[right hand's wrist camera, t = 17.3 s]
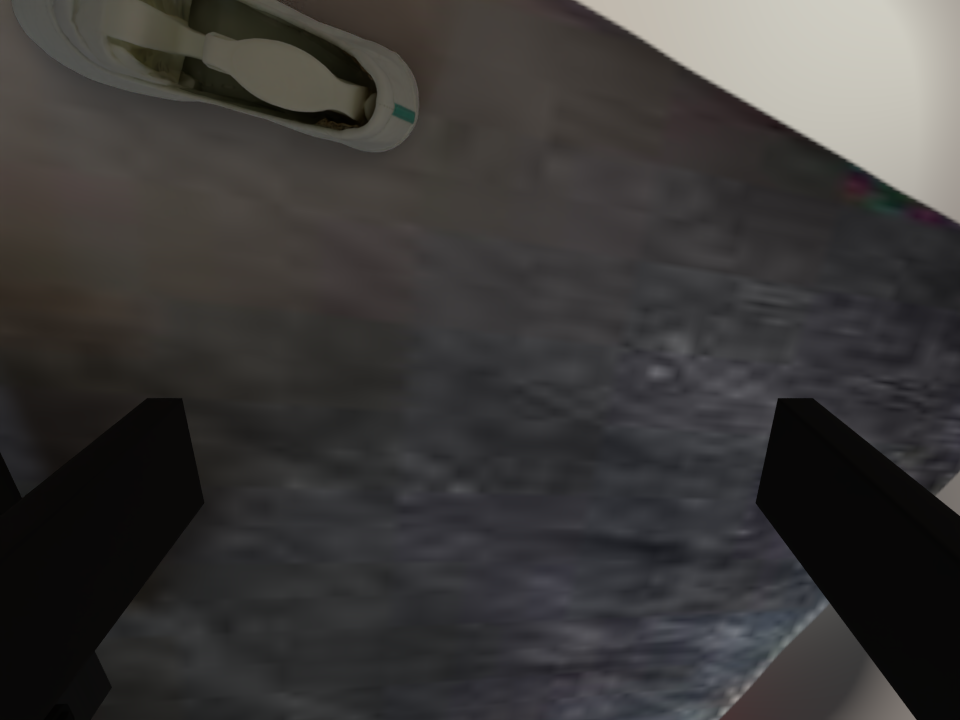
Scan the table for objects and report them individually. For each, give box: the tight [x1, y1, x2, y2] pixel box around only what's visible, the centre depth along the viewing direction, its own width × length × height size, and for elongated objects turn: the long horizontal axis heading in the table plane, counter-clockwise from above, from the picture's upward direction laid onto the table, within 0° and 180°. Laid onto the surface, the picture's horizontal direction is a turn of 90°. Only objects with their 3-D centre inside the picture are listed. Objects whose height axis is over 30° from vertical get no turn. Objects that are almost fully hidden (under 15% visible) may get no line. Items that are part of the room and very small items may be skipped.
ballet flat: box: [12, 0, 419, 152], centre depth 32 cm, size 8×24×8 cm, turn 73°
